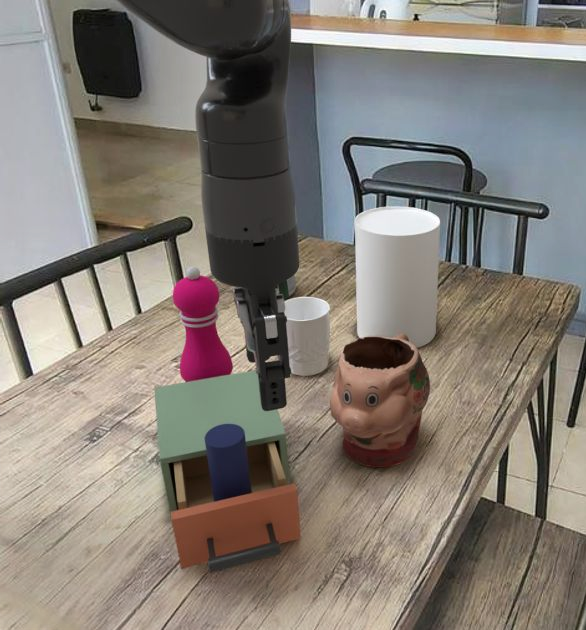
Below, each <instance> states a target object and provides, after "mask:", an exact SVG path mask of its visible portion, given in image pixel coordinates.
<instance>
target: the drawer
mask: <svg viewBox="0 0 586 630" xmlns="http://www.w3.org/2000/svg"><path fill="white" fill-rule="evenodd" d="M246 448H247V456H248V465H249V473H250V481H251V490H252V493H250V494H246V495H241V496H237V497H233V498H228V499H224V500H220V501H215V502H214V497H213V491H212V484H211V478H210V471H209V465H208V458H207V455H205V456H200V457H195V458H191V459H186V460H181V461H176V462H174V471H175V481H176V491H177V501H178V507H179V510H177V511H172V512H171V515H170V519H171V518H172V519H171V523H172V528H173V535H174V539H175V545H176V550H177V554H178V559H179V566H180V569H181V570H182V569H183V570H184V569H187V568H191V567H194V566H199V565H202V564H206V563H207V566H208V573H209V574H213V573H218V572H221V571H226V570H229V569H232V568H236V567H240V566H243V565H247V564H252V563H255V562H258V561H264V560H266V559H271V558H274V557H278V556H281V555H282V547H281V544H284V543H287V542H291V541H296V540H298V539H301V538H302V536H301V522H300V510H299V497H298V489H297V486H296V483H290V484H289V485H286V477H285V474H284V471H283V468H282V464H281V461H280V458H279V455H278V452H277V448H276V445H275V442H274V441H272V442H267V443H263V444H258V445H253V446H248V447H246Z"/></svg>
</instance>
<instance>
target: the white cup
mask: <svg viewBox="0 0 586 630" xmlns="http://www.w3.org/2000/svg"><path fill="white" fill-rule="evenodd" d="M284 303H285V311H284V313H285V316H286V317H287V322H286V327H287V338H288V352H289V364H290V368H291V373H290V374H293V375H296V376H301V377H307V376H314V375H318V374H320V373H322V372H324V371H325V370H326V369H327V368H328V366H329V363H330V362H329V361H330V357H329V356H330V354H329V353H330V352H329V351H330V339H331V338H330V335H331V305H330V304H329V303H328V302H327V301H326V300H324V299H321V298H318V297H314V296H298V297H292V298H288V299H285V300H284Z"/></svg>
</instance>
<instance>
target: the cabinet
mask: <svg viewBox="0 0 586 630" xmlns="http://www.w3.org/2000/svg"><path fill="white" fill-rule="evenodd" d="M153 389H154V390H153V391H154V402H155V413H156V414H155V415H156V416H155V417H156V426H157V427H156V430H157V443H158V444H157V445H158V456H159V463H160V469H161V474H162V479H163V483H164V489H165V494H166V500H167V505H168V509H169V515H170V516H171V512H172V511H177V510H179V507H178V501H177V491H176V481H175V471H174V462H176V461H181V460H186V459H191V458H195V457H200V456H205V455H207V452H206V445H205V435H206V433H207V432H208V431H209V430H210V429H212V428H213V427H215V426H218V425H222V424H236V425H239V426H240V427H242V428H243V430H244V432H245V439H246V447H248V446H253V445H258V444H263V443H267V442H272V441H274V442H275V445H276V448H277V452H278V455H279V458H280V461H281V464H282V468H283V471H284V474H285V477H286V485H289V484H291V480H290V479H291V478H290V470H289V457H288V456H289V455H288V445H287V433H286V430H285V427H284V425H283V421H282V419H281V416H280V415H281V414H280V413H279V409H276V410H271V411H264V410H263V409H262V406H261V401H260V391H259V381H258V375H257V374H256V372H255V369H254V370H248V371H242V372H236V373H231V374H230V375H224V376H219V377H213V378H207V379H201V380H195V381H190V382H185V381H184V382H179V383H173V384H168V385H167V384H166V385H161V386H156V387H154V388H153ZM170 519H171V520H172V518H171V517H170Z"/></svg>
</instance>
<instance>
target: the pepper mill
mask: <svg viewBox="0 0 586 630" xmlns="http://www.w3.org/2000/svg"><path fill="white" fill-rule="evenodd" d="M185 275H186V276H185V277H182V278H181V279H180V280H179V281H178V282H177V283H176V284H175V285H174V287H173V290H172V301H173V305H174V306H175V307H176V308H177V310H179V314H178V315H179V318H180V320H179V323H181V325H183V326H184V330H185V343H184V347H183V350H182V353H181V355H180V361H179V374H180V376H181V378H182V380H183V381H184V382H190V381H195V380H201V379H207V378H213V377H219V376H224V375H230V374H232V373H233V370H234V365H233V360H232V357H231V354H230V352H229V351H228V349H227V348H226V346H225V344H224V343H223V341H222V340H221V338H220V336H219V334H218V329H217V321H218V319H219V314H218V307H217V305H218V304H219V301H220V290H219V287H218V285H217V284H216V282H214V280H213V279H212V278H210V277H208V276H205V275H201V271H200V268H198V267H196V266H189V267H188V268H187V269H186V270H185Z"/></svg>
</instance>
